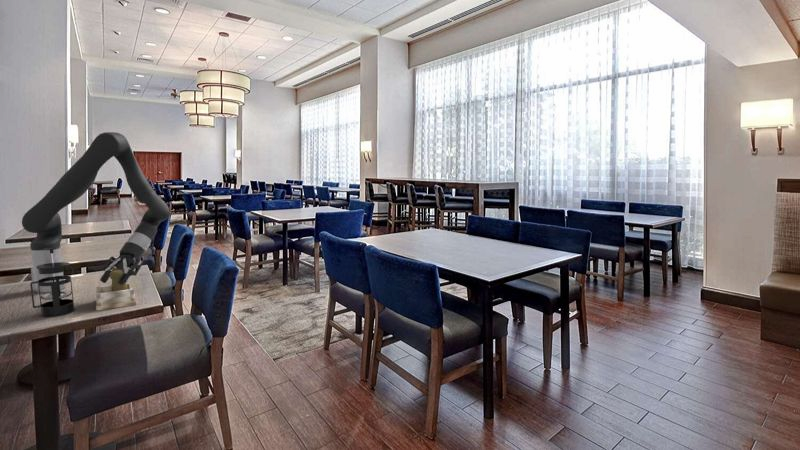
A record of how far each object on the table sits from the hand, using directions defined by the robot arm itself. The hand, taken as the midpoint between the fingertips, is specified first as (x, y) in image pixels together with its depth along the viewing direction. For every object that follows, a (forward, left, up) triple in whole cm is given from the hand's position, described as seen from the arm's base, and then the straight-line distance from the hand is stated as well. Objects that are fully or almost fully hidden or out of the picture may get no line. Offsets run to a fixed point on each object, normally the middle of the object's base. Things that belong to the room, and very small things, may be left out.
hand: (111, 282), depth 156 cm
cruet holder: (0, +1, -8) cm, 8 cm away
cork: (+2, +1, -7) cm, 7 cm away
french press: (-12, -11, -8) cm, 18 cm away
